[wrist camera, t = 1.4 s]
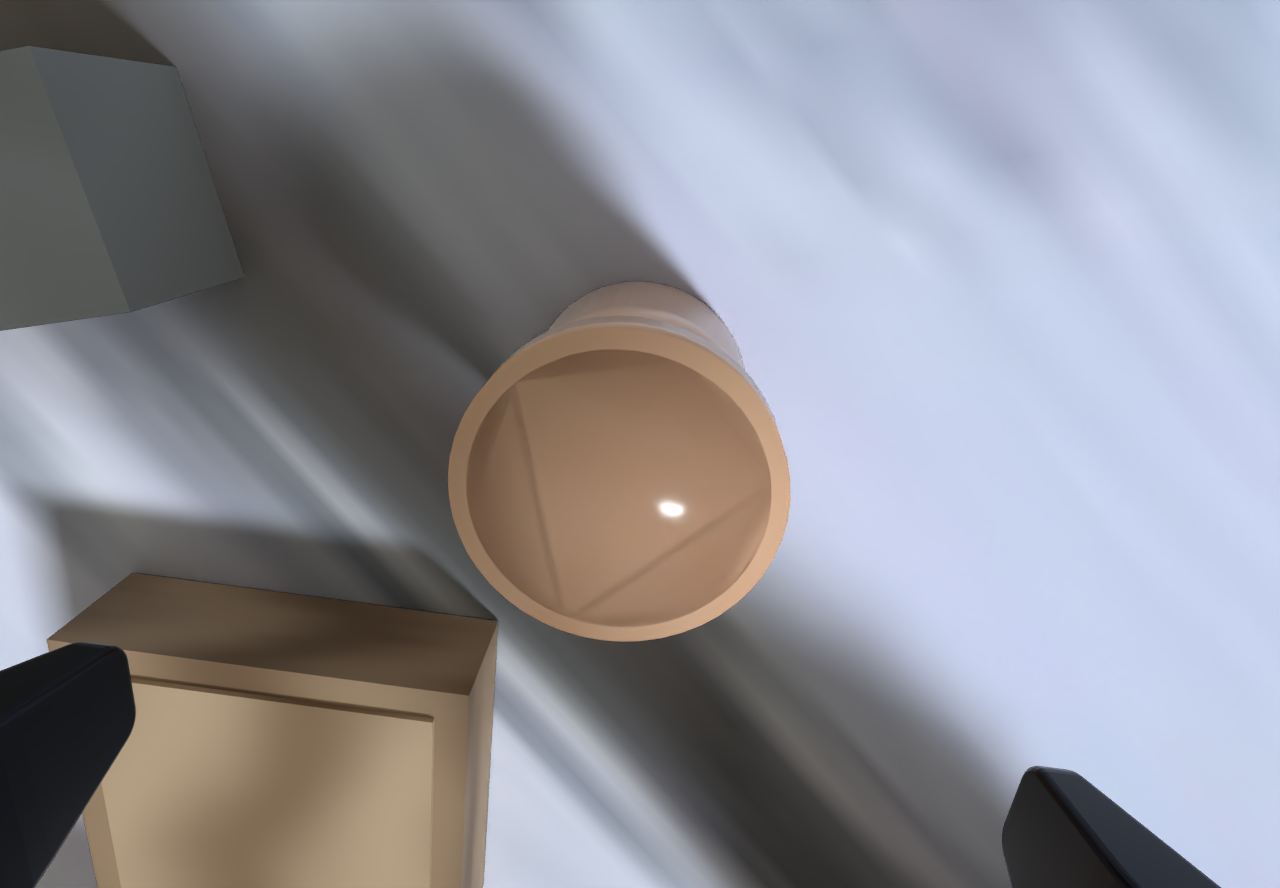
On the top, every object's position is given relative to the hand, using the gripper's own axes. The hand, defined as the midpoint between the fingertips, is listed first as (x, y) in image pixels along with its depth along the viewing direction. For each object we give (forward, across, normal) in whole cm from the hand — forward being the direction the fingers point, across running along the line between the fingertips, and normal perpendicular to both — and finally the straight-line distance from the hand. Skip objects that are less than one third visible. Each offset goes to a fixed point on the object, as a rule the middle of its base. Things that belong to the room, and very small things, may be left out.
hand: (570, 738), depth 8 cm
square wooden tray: (+11, +8, +12) cm, 18 cm away
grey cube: (+11, +12, -3) cm, 17 cm away
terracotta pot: (+11, 0, 0) cm, 11 cm away
